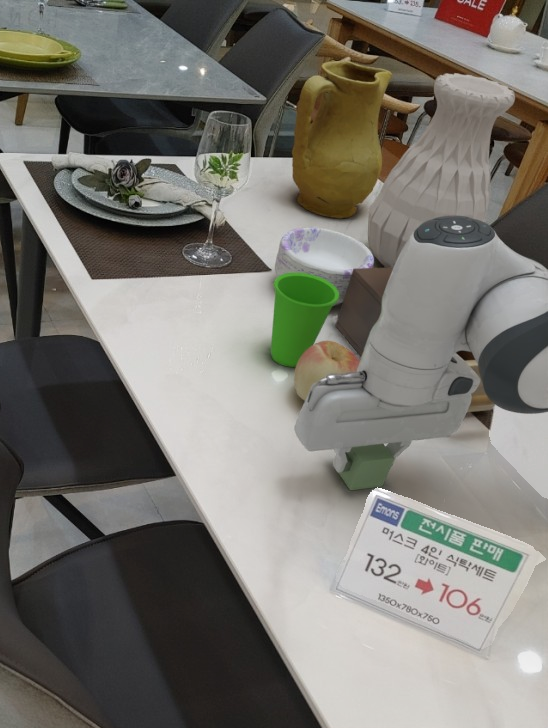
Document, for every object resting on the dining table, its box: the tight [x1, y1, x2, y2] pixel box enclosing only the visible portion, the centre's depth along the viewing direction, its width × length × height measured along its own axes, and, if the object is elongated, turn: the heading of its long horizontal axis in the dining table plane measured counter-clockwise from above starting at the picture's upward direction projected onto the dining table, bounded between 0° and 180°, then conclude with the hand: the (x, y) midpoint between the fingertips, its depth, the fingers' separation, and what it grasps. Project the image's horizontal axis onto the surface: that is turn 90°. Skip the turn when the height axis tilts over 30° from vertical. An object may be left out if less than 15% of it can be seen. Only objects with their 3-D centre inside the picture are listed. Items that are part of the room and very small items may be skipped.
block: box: [337, 444, 395, 491], centre depth 92 cm, size 4×4×4 cm
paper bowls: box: [274, 226, 375, 307], centre depth 124 cm, size 15×15×8 cm
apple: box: [293, 340, 360, 402], centre depth 101 cm, size 9×9×8 cm
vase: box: [367, 72, 516, 268], centre depth 129 cm, size 20×20×30 cm
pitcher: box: [291, 60, 393, 220], centre depth 147 cm, size 17×19×25 cm
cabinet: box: [335, 267, 394, 357], centre depth 113 cm, size 16×13×10 cm
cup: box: [270, 273, 339, 368], centre depth 108 cm, size 9×9×11 cm
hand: (362, 466), depth 92 cm, fingers closed on block, 4 cm apart
